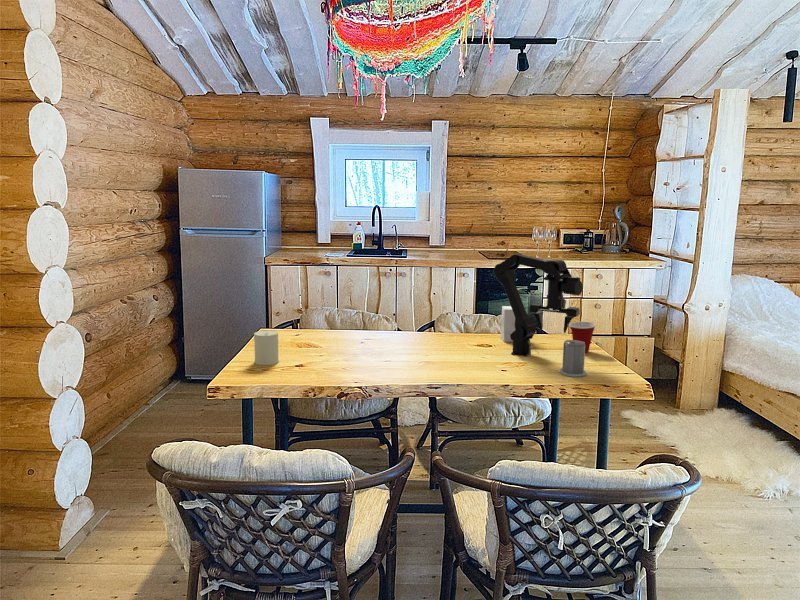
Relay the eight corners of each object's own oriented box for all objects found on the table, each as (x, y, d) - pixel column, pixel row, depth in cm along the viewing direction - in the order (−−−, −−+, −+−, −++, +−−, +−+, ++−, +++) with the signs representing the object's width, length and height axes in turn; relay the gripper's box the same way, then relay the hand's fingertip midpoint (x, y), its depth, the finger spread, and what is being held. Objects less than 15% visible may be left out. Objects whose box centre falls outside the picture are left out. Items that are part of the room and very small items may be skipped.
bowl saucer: (556, 374, 234) (556, 364, 234) (563, 368, 243) (564, 358, 242) (582, 378, 230) (583, 368, 229) (589, 372, 238) (589, 362, 237)
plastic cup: (562, 349, 272) (563, 321, 270) (583, 347, 276) (585, 320, 274) (577, 355, 262) (579, 327, 260) (599, 353, 266) (601, 325, 264)
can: (255, 366, 240) (254, 335, 238) (253, 359, 249) (253, 329, 247) (279, 364, 242) (279, 333, 240) (277, 358, 251) (277, 328, 249)
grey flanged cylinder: (560, 372, 235) (561, 343, 233) (565, 367, 241) (567, 339, 239) (580, 375, 231) (582, 345, 229) (585, 370, 237) (587, 341, 236)
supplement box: (520, 337, 292) (521, 305, 290) (523, 342, 284) (525, 309, 281) (500, 337, 293) (501, 305, 290) (503, 342, 284) (504, 309, 281)
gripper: (584, 291, 251) (582, 330, 253) (538, 287, 260) (536, 325, 262) (577, 295, 241) (574, 335, 244) (529, 291, 250) (527, 330, 253)
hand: (553, 331), depth 251 cm, fingers open, 9 cm apart
